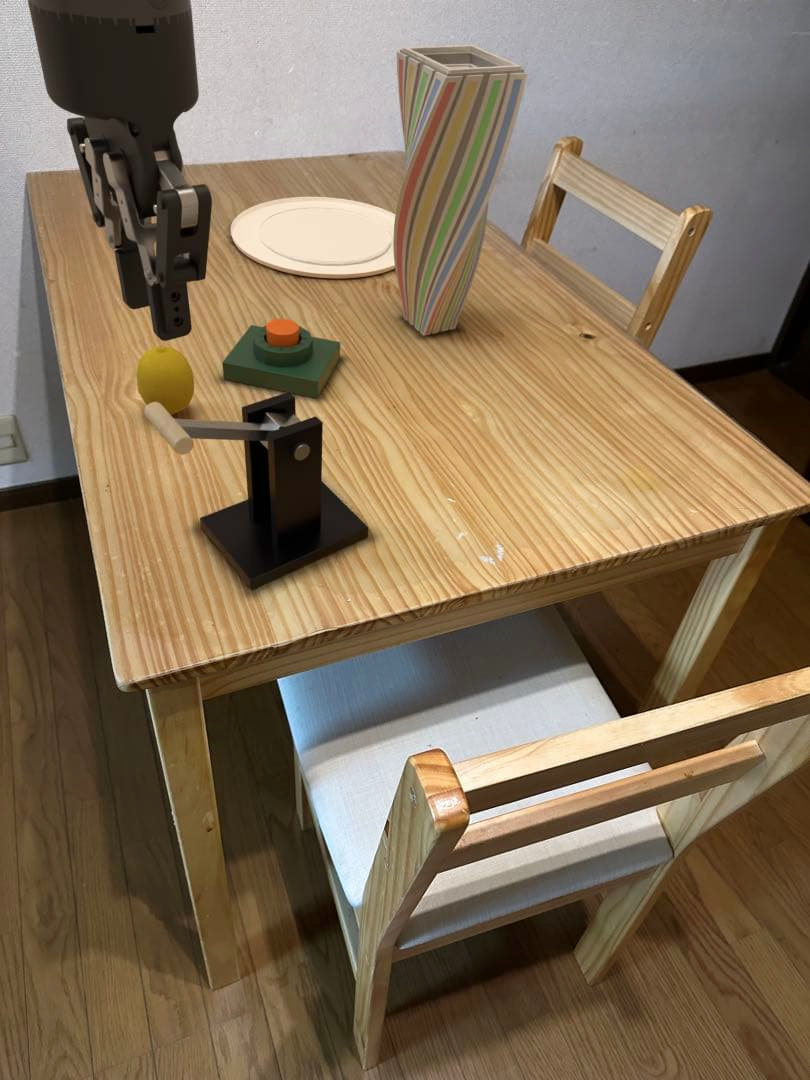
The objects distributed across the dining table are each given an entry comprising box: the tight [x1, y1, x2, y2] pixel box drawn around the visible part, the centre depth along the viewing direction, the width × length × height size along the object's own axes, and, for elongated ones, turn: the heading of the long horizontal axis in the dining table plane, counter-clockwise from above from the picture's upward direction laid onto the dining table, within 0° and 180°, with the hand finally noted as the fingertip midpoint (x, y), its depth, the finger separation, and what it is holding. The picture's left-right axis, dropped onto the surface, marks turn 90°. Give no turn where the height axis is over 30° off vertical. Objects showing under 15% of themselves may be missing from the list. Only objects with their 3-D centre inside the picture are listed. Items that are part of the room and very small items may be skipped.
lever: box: [143, 402, 302, 456], centre depth 58 cm, size 12×5×2 cm, turn 128°
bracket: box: [199, 392, 369, 590], centre depth 65 cm, size 12×9×13 cm
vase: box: [393, 44, 528, 336], centre depth 89 cm, size 14×14×30 cm
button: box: [265, 318, 300, 347], centre depth 85 cm, size 4×4×2 cm
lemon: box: [136, 344, 195, 416], centre depth 77 cm, size 6×6×8 cm
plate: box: [229, 196, 396, 279], centre depth 115 cm, size 28×28×1 cm
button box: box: [221, 324, 341, 399], centre depth 87 cm, size 11×9×4 cm
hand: (157, 318), depth 49 cm, fingers open, 4 cm apart
